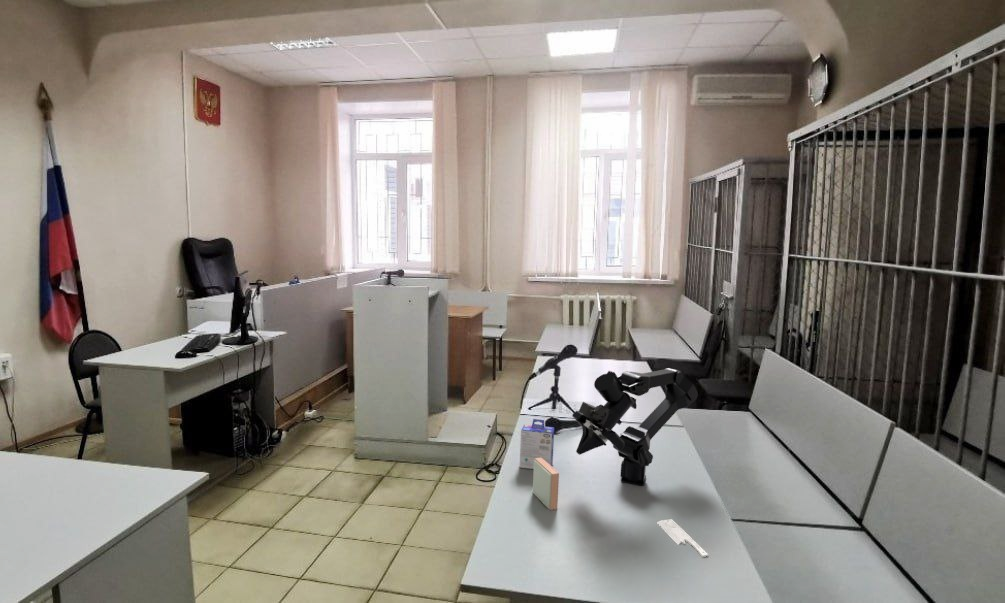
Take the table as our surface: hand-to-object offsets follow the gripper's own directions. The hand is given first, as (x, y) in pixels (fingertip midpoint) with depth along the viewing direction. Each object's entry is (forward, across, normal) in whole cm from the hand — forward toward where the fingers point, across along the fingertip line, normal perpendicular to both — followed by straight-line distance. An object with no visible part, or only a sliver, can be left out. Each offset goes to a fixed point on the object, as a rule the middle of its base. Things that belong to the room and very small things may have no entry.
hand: (577, 453), depth 145 cm
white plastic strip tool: (0, +27, +18) cm, 33 cm away
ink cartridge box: (+10, -20, +7) cm, 23 cm away
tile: (+15, 0, +2) cm, 15 cm away
